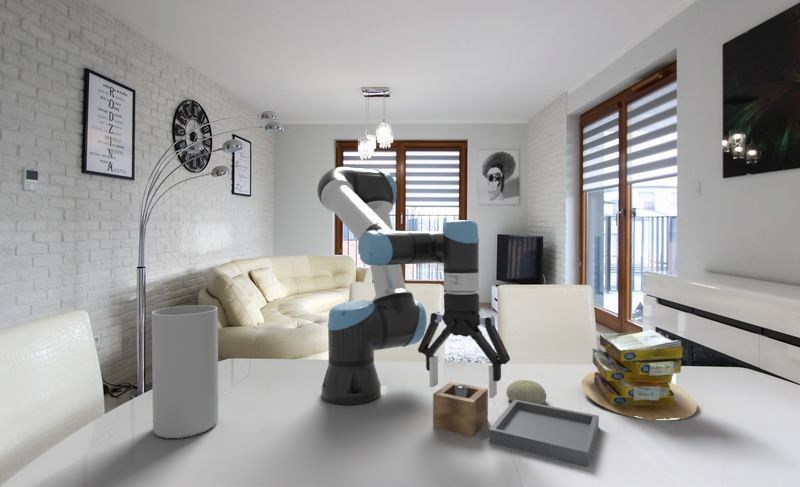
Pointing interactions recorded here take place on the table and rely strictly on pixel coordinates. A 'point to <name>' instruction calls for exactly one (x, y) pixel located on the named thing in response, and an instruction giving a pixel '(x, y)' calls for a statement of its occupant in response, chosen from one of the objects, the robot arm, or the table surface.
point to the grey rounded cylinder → (461, 391)
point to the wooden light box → (460, 409)
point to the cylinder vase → (184, 370)
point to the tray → (546, 431)
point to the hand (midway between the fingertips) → (462, 390)
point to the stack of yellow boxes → (639, 376)
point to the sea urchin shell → (526, 392)
